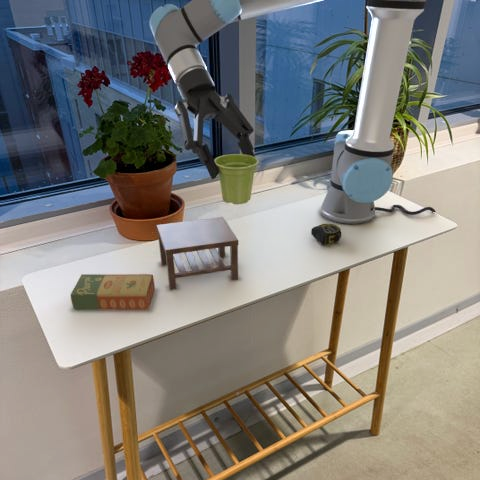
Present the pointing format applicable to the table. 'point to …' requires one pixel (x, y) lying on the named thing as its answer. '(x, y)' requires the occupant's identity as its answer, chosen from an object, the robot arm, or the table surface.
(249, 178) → the plant pot
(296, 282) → the table surface
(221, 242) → the coffee table
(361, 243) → the table surface
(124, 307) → the carton
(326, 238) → the tape measure
